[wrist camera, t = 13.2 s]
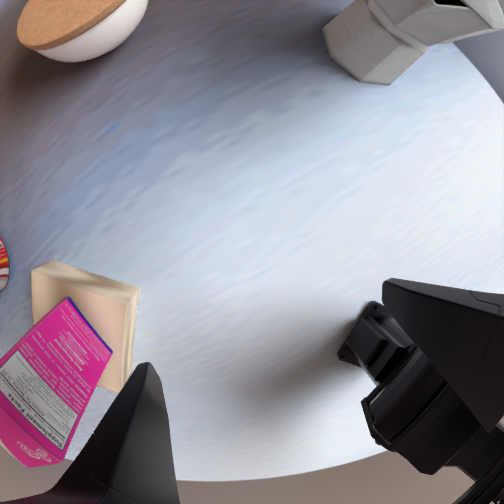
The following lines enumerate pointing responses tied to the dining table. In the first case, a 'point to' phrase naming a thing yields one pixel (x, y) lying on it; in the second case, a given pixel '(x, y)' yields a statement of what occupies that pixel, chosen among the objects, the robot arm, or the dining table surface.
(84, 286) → the maple block
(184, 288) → the dining table surface
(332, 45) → the coffee maker
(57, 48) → the lidded jar
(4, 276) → the soda can
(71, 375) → the supplement box
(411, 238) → the dining table surface
